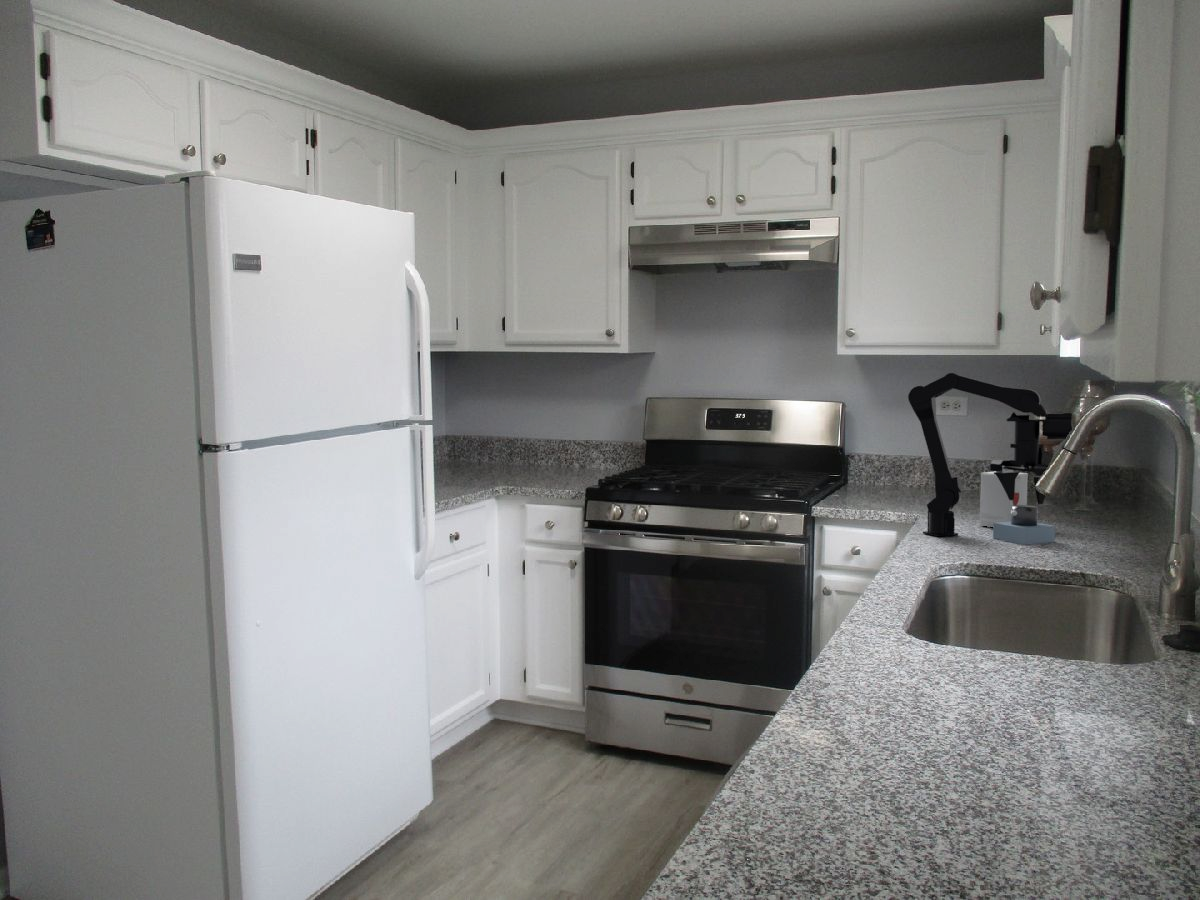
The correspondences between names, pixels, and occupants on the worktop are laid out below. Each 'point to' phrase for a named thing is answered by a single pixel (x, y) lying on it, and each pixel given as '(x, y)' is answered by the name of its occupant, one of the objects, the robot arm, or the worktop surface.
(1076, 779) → the worktop surface
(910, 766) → the worktop surface
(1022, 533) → the block
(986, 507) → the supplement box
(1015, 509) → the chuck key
